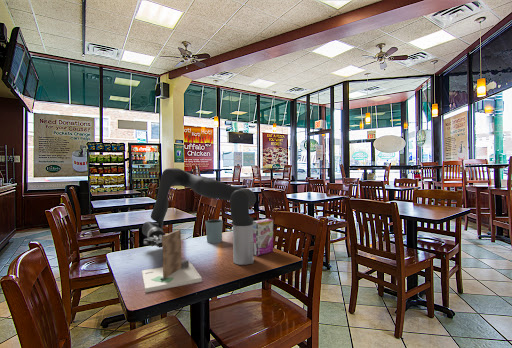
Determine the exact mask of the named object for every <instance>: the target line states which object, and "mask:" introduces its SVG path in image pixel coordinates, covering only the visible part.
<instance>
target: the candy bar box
mask: <svg viewBox="0 0 512 348" xmlns="http://www.w3.org/2000/svg"><path fill="white" fill-rule="evenodd" d="M253 239H254V257H255V256H256V257H258V256H262V255H266V254H269V253H272V252H274V219H270V218H264V219H258V220H253Z"/></svg>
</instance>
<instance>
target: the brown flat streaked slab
mask: <svg viewBox="0 0 512 348" xmlns="http://www.w3.org/2000/svg"><path fill="white" fill-rule="evenodd" d="M181 235H182V234H181V229H177V230H174V231H172V232H169V233H167V234H165V235H164V236H162V247H161V248H162V267H163V278H161V279H160V280H164V279H165V278H167V277H168V276H170V275H171V274H173V273H174V272H176V271H178V270H179V269H181V268H187V267H188V266H189V263H190V262H189V261H190V260H187V259H182V243H181V242H182V240H181V238H182V237H181Z"/></svg>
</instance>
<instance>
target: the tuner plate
mask: <svg viewBox="0 0 512 348" xmlns="http://www.w3.org/2000/svg"><path fill="white" fill-rule="evenodd" d="M141 276H142V281H143V287H144V292H145V294H146V293H150V292H155V291H161V290H166V289H171V288H175V287H176V288H177V287H182V286H188V285H192V284H196V283H201V282H202V280H203V279H202V276H201V275H200V274H199V271H197V269H196V268H195V267H194V265H193V264H192V262H189V266H188V267H187V268H181V269H179V270H178V271H176V272H174V273H173V274H171V275H170V276H168V277H167V278H165V279H164V280H160V279H161V278H163V266H161V267H157V268H156V267H155V268H150V269H144V270H141Z"/></svg>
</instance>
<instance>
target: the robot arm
mask: <svg viewBox="0 0 512 348" xmlns="http://www.w3.org/2000/svg"><path fill="white" fill-rule="evenodd" d="M171 187H185V188H188V189H191V190H192V191H193V192H195V194H197V195H200V196H202V197H205V198H209V199H214V200H215V199H216V200H223V201H224V200H226V201H229V205H230V218H231V220H232V249H233V250H232V255H233V256H232V257H233V258H232V260H233V261H232V262H233V263H234V264H236V265H239V266H240V265H241V266H245V265H251V264H252V265H253V264H254V262H255V255H254V239H253V221H254V219H253V217H252V216H250V211H249V210H250V208H251V207H253V206H254V205H255V204H256V202H257V196H256V194H255V193H254V191H253V190H252V189H249V188H245V187H240V186H233V185H230V184H227V183H225V182H223V181H220V180H215V179H213V178H210V177H206V176H203V175H197V174H193V173H190V172H189V171H186V170H183V169H181V168H177V167H175V168H174V167H173V168H171V167H169V168H165V169H164V170H163V172H162V174H161V176H160V181H159V186H158V191H157V197H156V201H155V204H154V206H153V208H152V211H151V213H150V219H151V220H152V221H146V222H144V223H143V225H142V227H141V233H142V234H143V235H144V236H145V237H147V238H144V239H143V245H145V246H149V247H157V248H163V247H162V236H164V235H166V234H165V232H164V230H163V229H164V221H165V218H166V214H167V212H168V210H169V209H168V208H169V200H168V199H169V198H168V197H169V196H168V195H169V192H170V190H171ZM153 221H154V222H153Z"/></svg>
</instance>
